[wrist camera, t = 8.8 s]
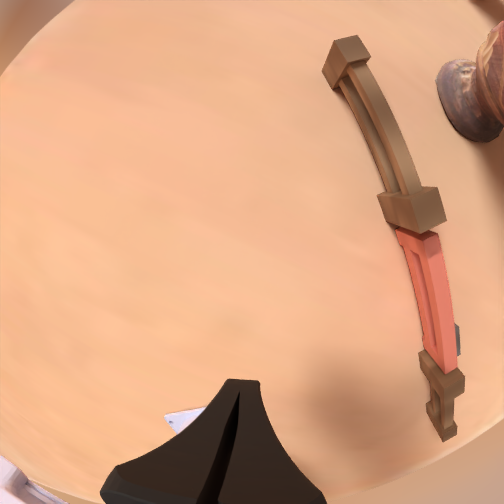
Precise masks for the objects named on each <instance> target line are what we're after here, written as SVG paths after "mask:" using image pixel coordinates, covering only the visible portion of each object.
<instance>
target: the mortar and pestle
mask: <svg viewBox="0 0 504 504" xmlns="http://www.w3.org/2000/svg"><path fill="white" fill-rule="evenodd" d="M435 81H436V83H437V88H438V92H439V96H440V99H441V102H442V104H443V106H444V109H445V111H446V113H447V116H448V118H449V119H450V121H451V122H452V124H453V125H454V127H455V128H456V129H457V130H458V131H459V132H460V133H461V134H462V135H464V136H465V137H467V138H468V139H470V140H472V141H477V142H490V141H491V140H493V139H495V138H496V137H498V136H499V134H500V132H501V131H502V129H503V127H504V20H503V21H502V22H500V23H499V24H498V25H497V26H496V27H494V28H493V29H492V30H491V31H490V33H489V34H488V38H487V41H485V42H484V43H483V44H482V45H481V46H480V48H479V50H478V53H477V58H476V63H474V62H472V61H470V60H454V61H451V62H448V63H446V64H444V65H443V67H442V68H441V70H440V72H439V74H438V76H437V78H436V79H435Z"/></svg>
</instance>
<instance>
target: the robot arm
mask: <svg viewBox="0 0 504 504" xmlns="http://www.w3.org/2000/svg"><path fill="white" fill-rule="evenodd" d="M164 419H165V420H166V421H167V423H168V424H169V425H170V426H171V427H172V428H173V430H174V431H175V432H176V433H177V435H176V436H175V437H173V438H172V439H170V440H169V441H167V442H166V443H164V444H163V445H161V446H160V447H158V448H156V449H154V450H152V451H150V452H149V453H147V454H145V455H143V456H141V457H138V458H136V459H134V460H131V461H128V462H126V463H123V464H120V465H117V466H115V468H114V469H113V471H112V472H111V473H110V474H109V476H108V477H107V479H106V481H105V483H104V485H103V487H102V488H101V490H100V496H101V498H102V499H103V501H104V502H105V503H106V504H327V502H326V500H325V498H324V496H323V494H322V492H321V491H320V490H319V489H318V488H317V487H315V486H314V485H313V484H312V483H311V482H310V481H309V480H308V479H307V478H306V477H305V475H304V474H303V473H302V472H301V471H300V470H299V469H298V467H297V466H296V465H295V463H294V462H293V461H292V460H291V458H290V457H289V456H288V454H287V453H286V451H285V450H284V448H283V446H282V445H281V443H280V441H279V440H278V438H277V436H276V434H275V432H274V430H273V428H272V426H271V424H270V421H269V419H268V416H267V413H266V411H265V408H264V405H263V401H262V397H261V392H260V382H259V381H257V380H240V379H227V380H226V381H225V383H224V385H223V386H222V388H221V389H220V391H219V392H218V393H217V395H216V396H215V397H214V399H213V400H212V401H211V402H210V403H209V405H208V406H207V407H203V408H198V409H193V410H187V411H182V412H176V413H170V414H166V415H165V417H164ZM172 421H173V422H172ZM0 504H69V503H67V502H65V501H64V500H62V499H60V498H58V497H56V496H55V495H53V494H51V493H50V492H48V491H46V490H44V489H43V488H41V487H40V486H38V485H36V484H35V483H33V482H32V481H30V480H29V479H28V478H27V476H26V475H25V474H24V473H23V472H22V471H21V470H20V469H19V468H18V467H17V466H16V465H14V464H13V463H12V462H10V461H9V460H8V459H6V458H5V457H4V456H1V457H0Z"/></svg>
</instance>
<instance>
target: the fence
mask: <svg viewBox="0 0 504 504" xmlns="http://www.w3.org/2000/svg"><path fill="white" fill-rule="evenodd" d="M370 57H371V56H370V54H369V52H368V51H367V49H366V47H365V46H364V44H363V43H362V41H361V40H360V38H359V37H358V35H355V36H350V37H346V38H342V39H338V40H334V42H333V44H332V47H331V49H330V52H329V54H328V57H327V59H326V62H325V64H324V67H323V69H322V73H323V74H324V76H325V78H326V80H327V81H328V83H329V85H330V87H331V89H335V88H338V87H340V88H341V90H342V91H343V93H344V95H345V97H346V99H347V101H348V103H349V105H350V107H351V109H352V111H353V113H354V115H355V117H356V119H357V121H358V123H359V125H360V127H361V130H362V132H363V134H364V136H365V138H366V141H367V143H368V145H369V147H370V150H371V152H372V154H373V157H374V159H375V162H376V164H377V167H378V169H379V172H380V174H381V177H382V179H383V182H384V185H385V187H386V190H387V191H386V192H383V193H381V194H378V195H377V197H378V200H379V203H380V205H381V208H382V211H383V214H384V217H385V220H386V221H387V222H390V223H393V224H395V225H398V226H401V227H404V228H406V229H409V230H412V231H414V232H417V233H420V234H421V233H423V232H425V231H427V230H429V229H431V228H433V227H435V226H437V225H439V224H441V223H443V222H445V221H447V219H446V216H445V212H444V208H443V204H442V201H441V197H440V194H439V191H438V188H437V187H422V186H421V183H420V180H419V177H418V174H417V171H416V169H415V166H414V163H413V161H412V158H411V155H410V153H409V150H408V148H407V145H406V143H405V140H404V138H403V136H402V133H401V131H400V129H399V126H398V124H397V122H396V120H395V118H394V116H393V113H392V111H391V109H390V107H389V105H388V103H387V101H386V99H385V97H384V95H383V93H382V91H381V89H380V87H379V86H378V84H377V82H376V80H375V78H374V76H373V75H372V73H371V71H370V69H369V68H368V66H367V64H366V63H367V61H368V60H369V59H370ZM454 325H455V335H456V348H457V356H459V355H460V334H459V326H457V325H456V324H455V323H454ZM418 354H419V361H420V368H421V370H422V371H423V373H424V374H425V376H426V377H427V379H428V380H429V382H430V387H431V401H430V402H428V403H426V410H427V414H428V415H429V417H430V419H431V421H432V423H433V425H434V427H435V428H436V430H437V432H438V434H439V436H440V438H441V440H442V442H445V441H446V440H448V439H450V438H452V437H453V436H455V435H457V425H456V423H455V422H454V420H453V416H454V398H456V397H457V396H459V395H461V394H462V393H464V387H465V376H464V375H463V373H462V372H461V371H460V370H459V369H458V367H457V368H455V369H454V370H452V371H450V372H449V373H447V374H444V372H443V371H442V370H441V368H440V367H439V366H438V365H437V363H436V362H435V361H434V359H433V358H432V357H431V356H430V354H429V353H428V352H427V351H426V349H425V350H423V351H421V352H419V353H418Z"/></svg>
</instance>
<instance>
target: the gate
mask: <svg viewBox="0 0 504 504" xmlns="http://www.w3.org/2000/svg"><path fill="white" fill-rule="evenodd" d="M395 231H396V234H397V237H398V240H399V244H400V245H402V246H403V248H404V251H405V255H406V258H407V262H408V265H409V269H410V273H411V277H412V281H413V285H414V289H415V293H416V297H417V302H418V307H419V311H420V316H421V321H422V327H423V332H424V336H423V337H422V339H423V345H424V348H425V349H426V351H427V352H428V353H429V354H430V356H431V357H432V358H433V359H434V361H435V362H436V363H437V365H438V366H439V367H440V368H441V370H442V371H443V372H444V374H447V373H449V372H450V371H452V370H454V369H455V368H457V348H456V335H455V325H454V316H453V308H452V301H451V295H450V289H449V283H448V277H447V272H446V267H445V262H444V257H443V253H442V249H441V244H440V240H439V236H438V233H435V232H432V231H430V230H427V231H425V232H423V233H421V234H420V233H417V232H414V231H412V230H409V229H406V228H404V227H400V228H397V229H395Z"/></svg>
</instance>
